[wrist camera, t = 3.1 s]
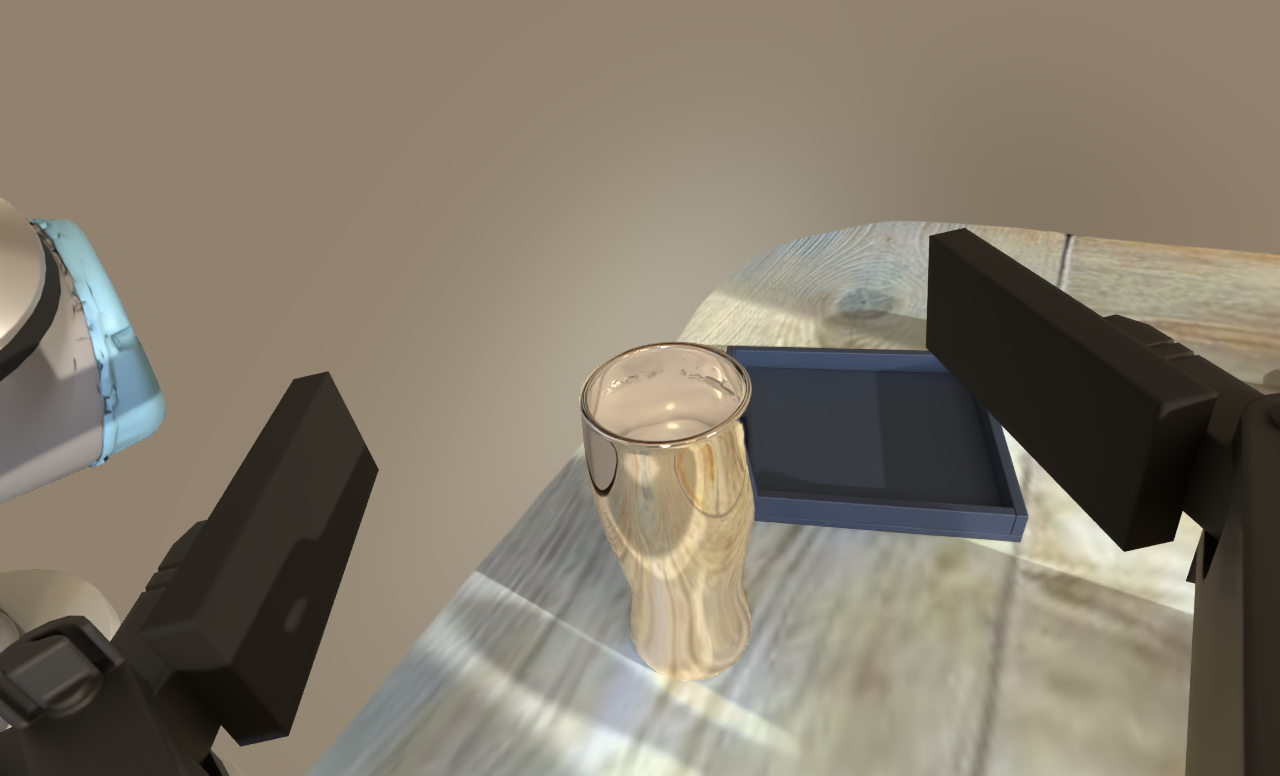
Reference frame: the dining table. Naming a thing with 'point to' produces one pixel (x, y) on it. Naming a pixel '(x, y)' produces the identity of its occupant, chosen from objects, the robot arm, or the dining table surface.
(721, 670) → the beer glass
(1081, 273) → the dining table surface
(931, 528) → the dark blue tray
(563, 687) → the dining table surface
